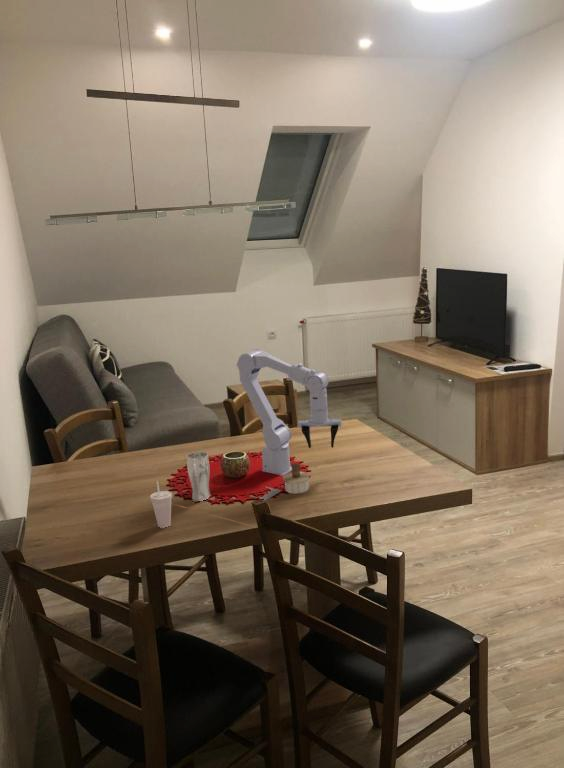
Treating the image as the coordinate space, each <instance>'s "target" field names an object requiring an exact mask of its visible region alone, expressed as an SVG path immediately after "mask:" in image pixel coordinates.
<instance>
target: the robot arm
mask: <svg viewBox="0 0 564 768" xmlns="http://www.w3.org/2000/svg"><path fill="white" fill-rule="evenodd" d="M236 366H237V369H238V371H239V374H238V375H239V382H240V383H241V386H242V387H243V389H244V391H245V393H246V395H247V396H248V399H249V400H250V402H251V405H252V406H253V408H254V409H255V412H256V414H257V416H258V417H259V419H260V421H261V423H262V425H263V426H262V431H261V433H262V435H263V437H264V438H263V439H264V444H265V446H264V447H263V448H262V452H261V453H262V454H261V458H262V459H261V460H262V461H261V462H262V469H261V472H265V473H269V474H275V475H279V476H284V475H285V474H287V473H290V472H292V466H291V460H290V459H291V458H290V446H289V445H290V443H289V441H290V440H291V439H292V438H291V437H292V432H291V429H290V428H289V427H288V426H287V425H286V424H285V422H284V421H283V420H281V419H280V418H278V417H277V415H276V413H275V411H274V409H273V407H272V405H271V404H270V402H269V400H268V397H267V396H266V394H265V392H264V390H263V388H262V387H261V385H260V382H259V381H258V375H259V372H260V371H261V369H262V368H269V369H272V370H274V371H277V372H279V373H283V374H285V375H287V376H288V379H289V380H291V381H293V382H294V383H295V382H296V383H297V384H300V385H302V386H304V387H306V389H307V390H308V391H309V405H310V406H309V407H310V408H309V409H310V419H304V420H298V422H297V426H298V427H297V428H301V432H302V434H303V436H304V438H305V440H306V442H307V446H308V448H309V449H311V448H312V442H311V439H312V438H311V428H312V427H313V428H315V427H316V428H317V427H318V428H319V427H330V438H331V439H330V448H334V447H335V446H334V443H335V439H336V436H337V433H338V430H339V427H342V419H334V418H329V411H328V410H329V409H328V394H327V393H328V392H327V391H328V390H327V386H328V385H329V382H330V381H329V377H328V374H326V373H325V372H324V371H321V370H319V371H316V370H315V369H310V368H308V367H305V366H304V364H303V363H294V364H290V363H288V362H286V361H283V360H282V359H280V358H278V357H275V356H274V355H271V354H270V353H269V352H268V351H263V350H262V349H260V348H256V349H253V350H251V351H248V352H245V353H242V354H241V355H240V356H239V357H238V360H237V363H236Z"/></svg>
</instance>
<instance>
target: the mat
mask: <svg viewBox="0 0 564 768" xmlns="http://www.w3.org/2000/svg"><path fill="white" fill-rule="evenodd" d="M265 487H266V488H269V489H270V490H271V492H268V494H265V495H264V496H263V497H259V498H260V499H264V500H263V501H264V502H266V501H267V500H269V499H271V498H272V497H273V496H274V497H275V496H276V495H277V494H279V493H280V492H283V490H281V489H278V488H277V489H276V488H273V487H268V486H265ZM256 498H257V497H256ZM256 498H255V499H256ZM260 499H259V500H260Z"/></svg>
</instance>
